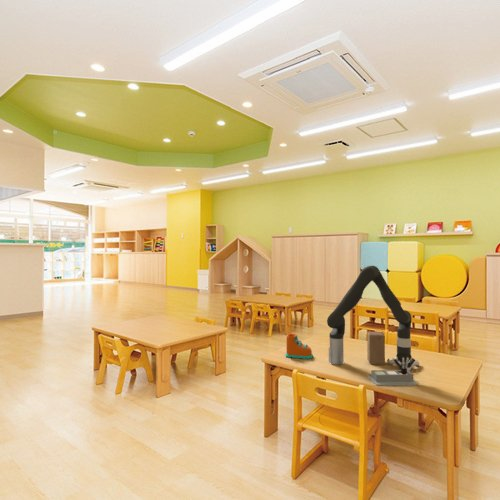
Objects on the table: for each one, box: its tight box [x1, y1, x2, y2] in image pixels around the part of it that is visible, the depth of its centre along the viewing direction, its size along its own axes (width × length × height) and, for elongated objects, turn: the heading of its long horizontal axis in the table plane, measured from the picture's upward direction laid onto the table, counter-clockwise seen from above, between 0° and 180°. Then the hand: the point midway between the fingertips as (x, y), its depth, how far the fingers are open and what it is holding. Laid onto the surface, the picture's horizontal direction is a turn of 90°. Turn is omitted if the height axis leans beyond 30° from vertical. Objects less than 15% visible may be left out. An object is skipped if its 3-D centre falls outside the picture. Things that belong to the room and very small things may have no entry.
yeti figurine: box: [386, 358, 420, 372], centre depth 223 cm, size 20×7×20 cm
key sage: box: [374, 371, 386, 375], centre depth 199 cm, size 5×5×2 cm
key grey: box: [386, 371, 397, 375], centre depth 199 cm, size 5×5×2 cm
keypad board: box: [366, 369, 419, 387], centre depth 199 cm, size 24×14×5 cm, turn 91°
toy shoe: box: [285, 333, 314, 360], centre depth 245 cm, size 12×20×15 cm, turn 73°
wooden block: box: [366, 331, 386, 366], centre depth 231 cm, size 10×10×20 cm
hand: (403, 374), depth 199 cm, fingers closed
